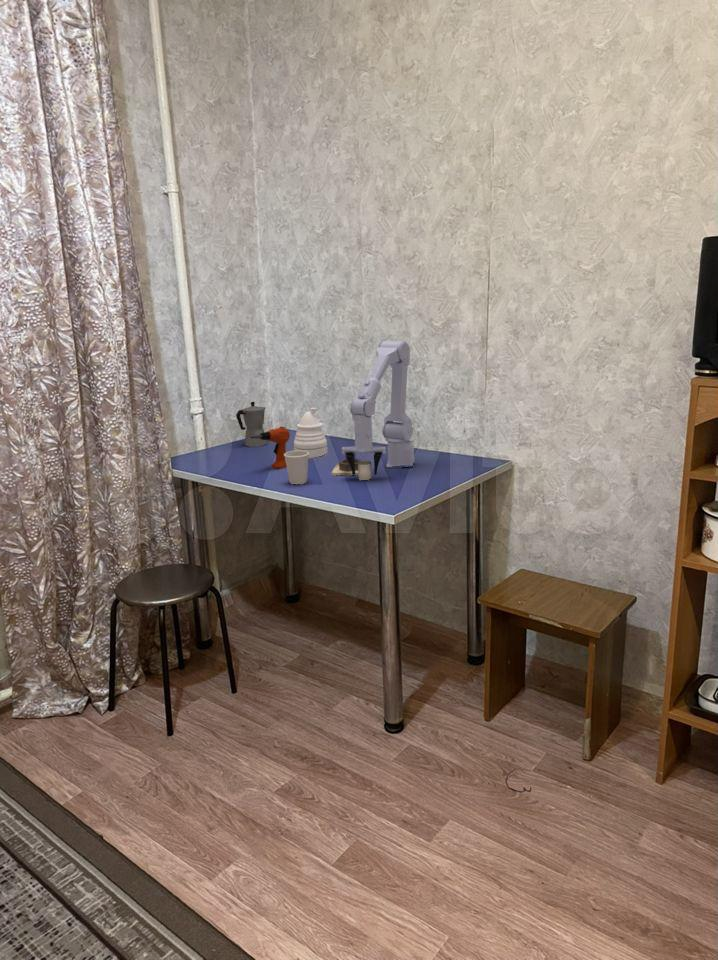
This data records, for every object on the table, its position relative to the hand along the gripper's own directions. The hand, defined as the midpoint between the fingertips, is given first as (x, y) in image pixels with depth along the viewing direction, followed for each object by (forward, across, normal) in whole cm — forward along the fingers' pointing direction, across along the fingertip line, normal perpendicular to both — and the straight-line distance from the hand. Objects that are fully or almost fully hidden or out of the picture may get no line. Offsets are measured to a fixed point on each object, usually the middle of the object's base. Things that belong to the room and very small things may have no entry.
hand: (364, 474), depth 235 cm
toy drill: (+2, -35, +13) cm, 37 cm away
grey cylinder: (+2, 0, 0) cm, 2 cm away
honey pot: (+2, -25, +35) cm, 43 cm away
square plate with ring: (+2, -6, +10) cm, 12 cm away
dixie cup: (+2, -22, -4) cm, 22 cm away
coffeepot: (+2, -52, +51) cm, 73 cm away
